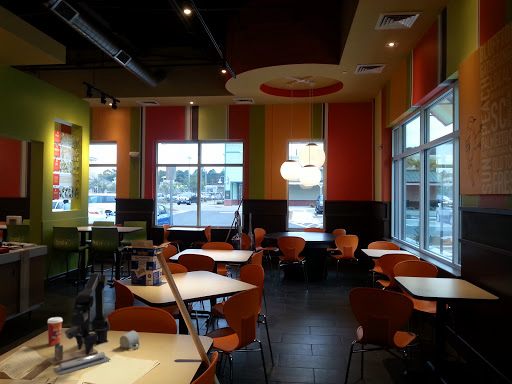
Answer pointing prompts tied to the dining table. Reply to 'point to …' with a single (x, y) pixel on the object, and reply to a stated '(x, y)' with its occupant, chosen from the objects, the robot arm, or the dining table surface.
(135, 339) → the ceramic mug
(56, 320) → the paper cup
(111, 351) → the dining table surface
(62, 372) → the grey flat tapered piece
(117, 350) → the dining table surface
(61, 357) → the hook stand
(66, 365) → the steel rod
